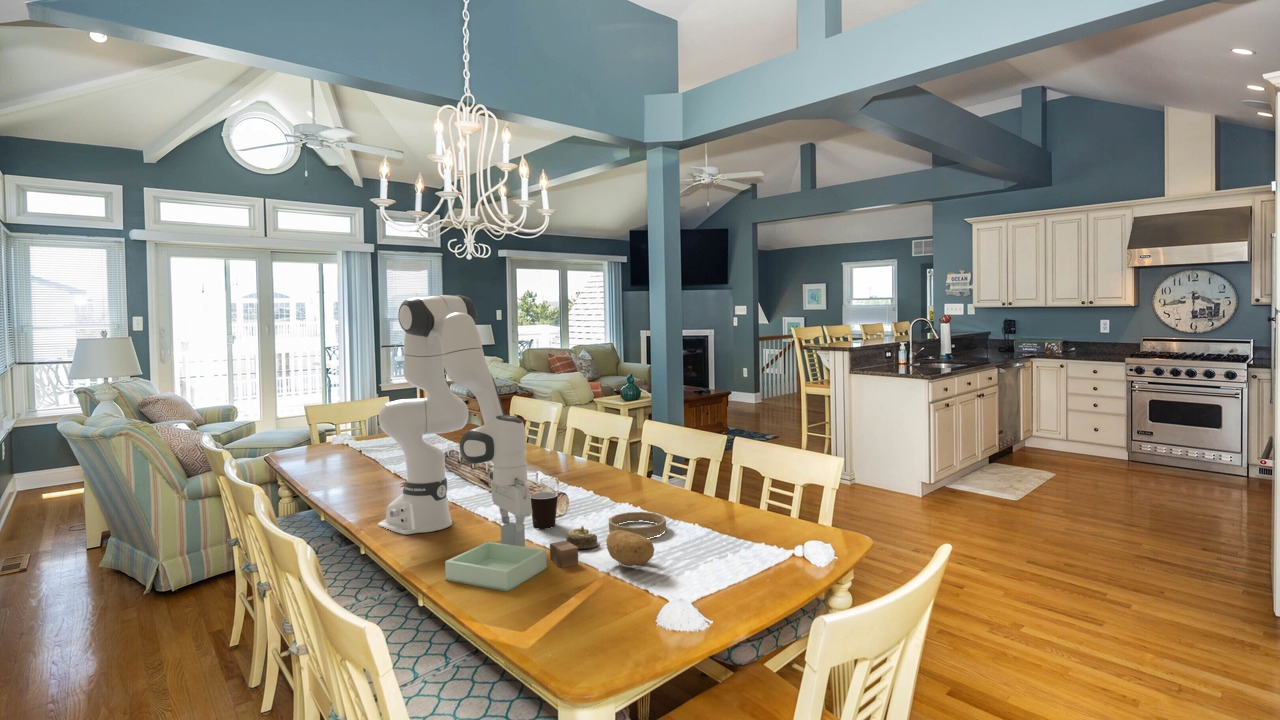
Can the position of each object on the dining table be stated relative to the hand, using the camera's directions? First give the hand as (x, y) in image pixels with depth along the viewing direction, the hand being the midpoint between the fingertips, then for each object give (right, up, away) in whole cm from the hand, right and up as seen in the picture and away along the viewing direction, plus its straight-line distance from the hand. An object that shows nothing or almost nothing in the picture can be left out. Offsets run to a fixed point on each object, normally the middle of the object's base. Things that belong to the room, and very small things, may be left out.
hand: (512, 527), depth 172 cm
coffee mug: (+6, -6, +23) cm, 24 cm away
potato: (+32, -7, -11) cm, 35 cm away
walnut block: (+13, -5, -6) cm, 15 cm away
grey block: (0, -7, +1) cm, 7 cm away
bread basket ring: (+34, -6, +16) cm, 38 cm away
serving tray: (0, -7, -16) cm, 18 cm away
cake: (+18, -7, +5) cm, 20 cm away
